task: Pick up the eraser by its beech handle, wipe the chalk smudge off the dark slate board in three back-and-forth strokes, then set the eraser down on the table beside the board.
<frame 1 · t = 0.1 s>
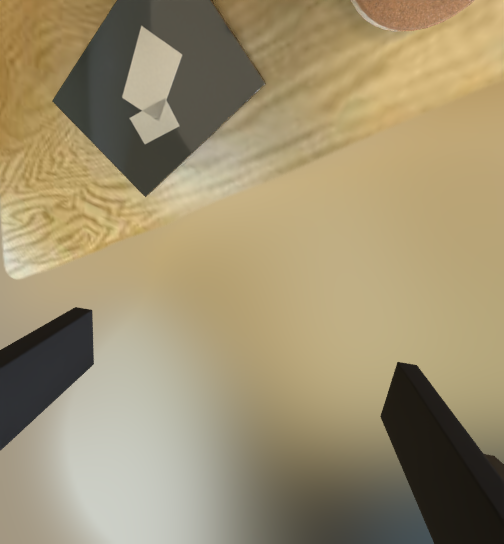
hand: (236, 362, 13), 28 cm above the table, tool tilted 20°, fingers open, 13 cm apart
slate board: (155, 92, 32), on the table
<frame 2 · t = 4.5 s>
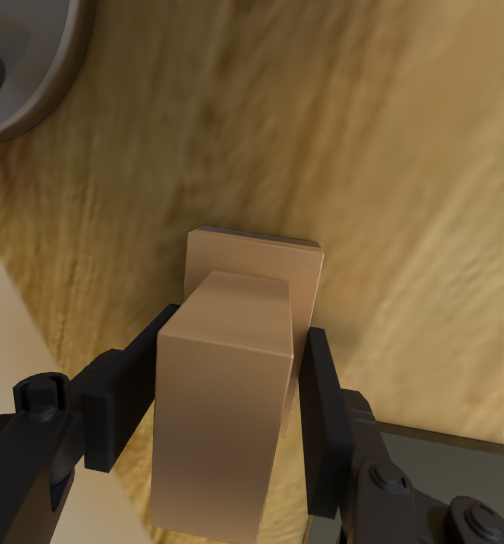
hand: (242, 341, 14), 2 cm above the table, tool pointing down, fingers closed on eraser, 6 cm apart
eraser: (247, 321, 16), on the table, touching gripper
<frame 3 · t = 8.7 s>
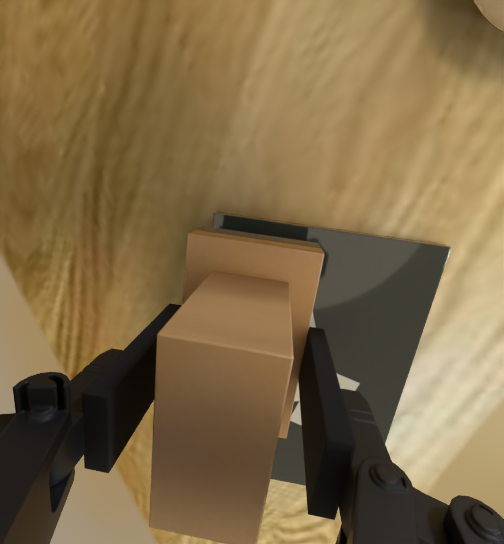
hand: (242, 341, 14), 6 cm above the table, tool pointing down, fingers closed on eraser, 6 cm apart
eraser: (247, 322, 16), point 4 cm above the table, touching gripper
slate board: (299, 366, 21), on the table
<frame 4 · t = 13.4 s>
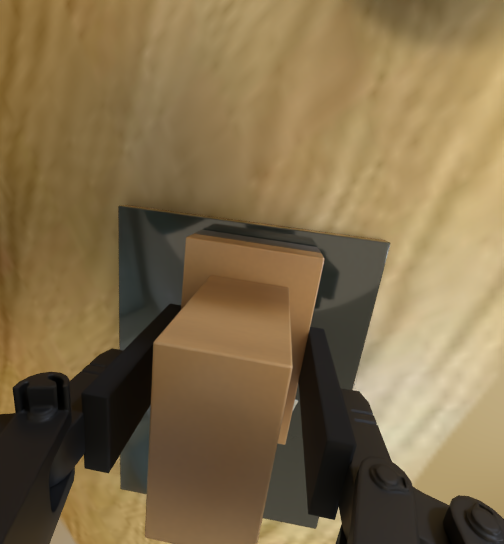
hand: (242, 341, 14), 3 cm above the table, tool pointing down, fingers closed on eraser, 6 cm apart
eraser: (246, 326, 16), point 1 cm above the table, touching gripper
slate board: (232, 380, 18), on the table
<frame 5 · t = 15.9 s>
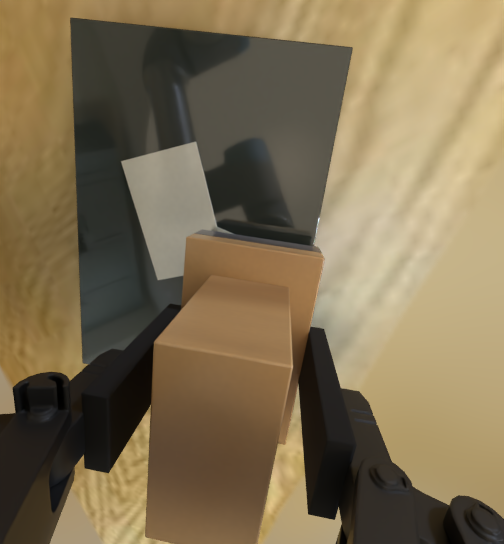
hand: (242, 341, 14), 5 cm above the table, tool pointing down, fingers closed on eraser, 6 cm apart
eraser: (246, 326, 16), point 3 cm above the table, touching gripper
slate board: (195, 233, 18), on the table
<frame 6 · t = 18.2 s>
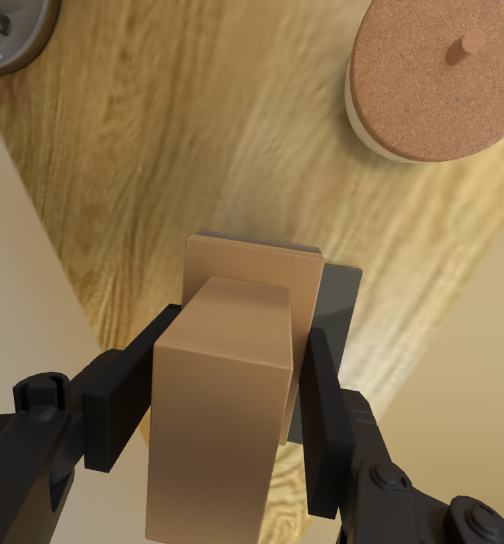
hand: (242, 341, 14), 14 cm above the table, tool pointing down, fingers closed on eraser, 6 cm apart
eraser: (246, 327, 16), point 12 cm above the table, touching gripper
slate board: (270, 351, 30), on the table
trinket box: (400, 100, 23), on the table
when the fingers open (2 cm above the table, at t = 22.3 s): eraser stays where it is, on the table.
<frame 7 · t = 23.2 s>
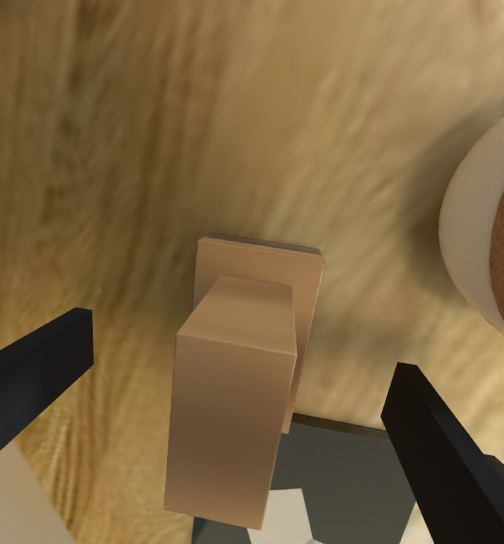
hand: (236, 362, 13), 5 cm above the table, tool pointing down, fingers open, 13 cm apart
eraser: (251, 323, 17), on the table
slate board: (290, 529, 21), on the table
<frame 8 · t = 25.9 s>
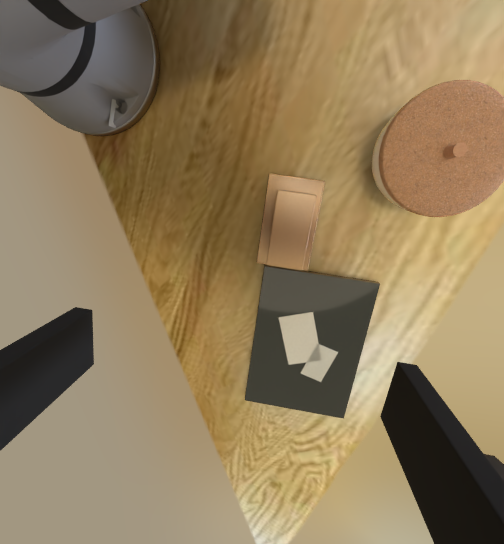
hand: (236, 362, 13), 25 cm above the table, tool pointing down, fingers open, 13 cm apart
eraser: (288, 221, 35), on the table
slate board: (306, 343, 39), on the table
trinket box: (409, 160, 32), on the table
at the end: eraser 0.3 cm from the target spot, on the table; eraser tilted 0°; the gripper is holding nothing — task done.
